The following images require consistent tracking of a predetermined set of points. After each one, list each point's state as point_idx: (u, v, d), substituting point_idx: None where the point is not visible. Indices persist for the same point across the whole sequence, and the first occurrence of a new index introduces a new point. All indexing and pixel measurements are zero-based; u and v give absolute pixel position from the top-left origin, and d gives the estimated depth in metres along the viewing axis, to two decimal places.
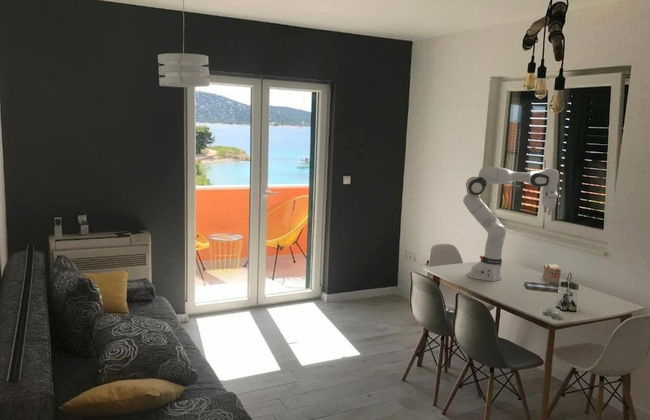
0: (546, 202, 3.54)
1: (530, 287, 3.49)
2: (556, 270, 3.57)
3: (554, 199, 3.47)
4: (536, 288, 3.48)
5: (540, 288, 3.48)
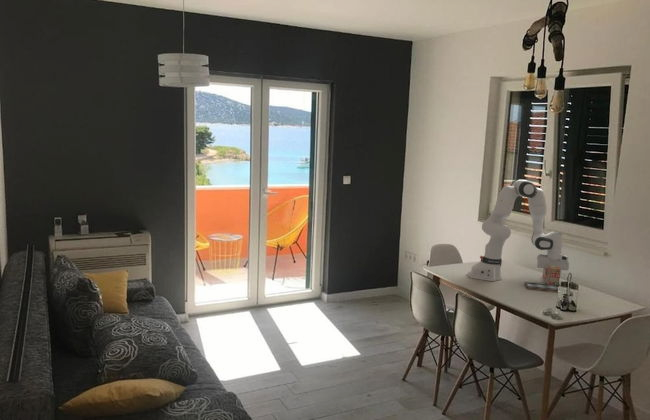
0: (556, 265, 3.65)
1: (530, 287, 3.49)
2: (556, 270, 3.57)
3: None
4: (536, 288, 3.48)
5: (540, 288, 3.48)
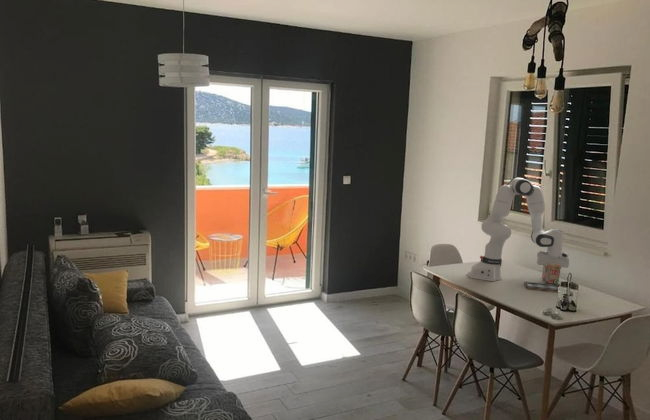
0: (556, 262, 3.64)
1: (530, 287, 3.49)
2: (556, 267, 3.57)
3: None
4: (536, 288, 3.48)
5: (540, 288, 3.48)
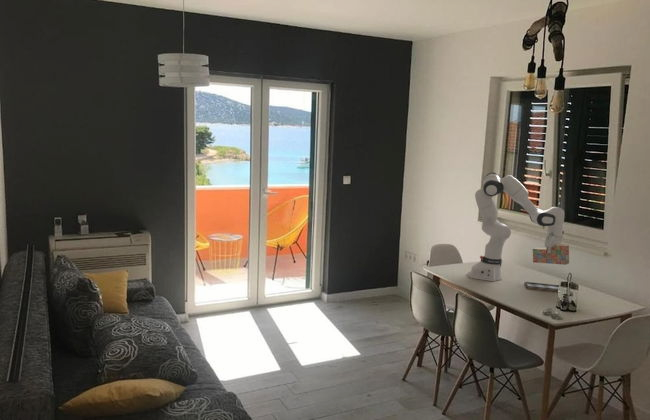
0: (557, 241, 3.54)
1: (530, 287, 3.49)
2: (567, 246, 3.48)
3: None
4: (536, 288, 3.48)
5: (540, 288, 3.48)
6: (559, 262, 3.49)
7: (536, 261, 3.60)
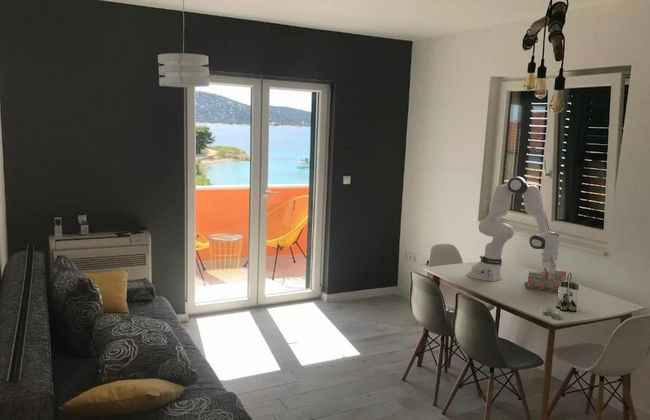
0: None
1: (530, 287, 3.49)
2: None
3: None
4: (536, 288, 3.48)
5: (540, 288, 3.48)
6: (557, 287, 3.48)
7: (533, 285, 3.51)
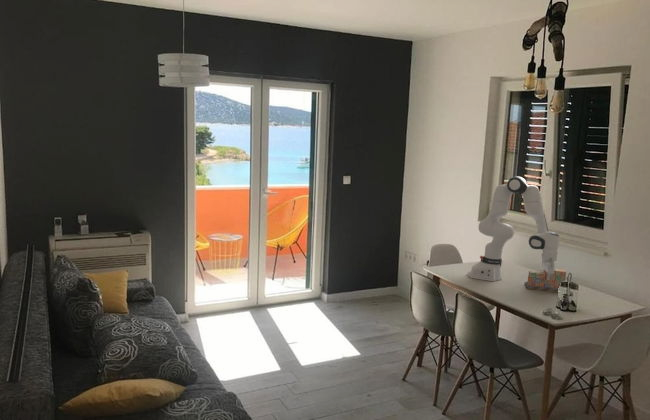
0: None
1: (530, 287, 3.49)
2: None
3: None
4: (536, 288, 3.48)
5: (540, 288, 3.48)
6: (557, 287, 3.48)
7: (533, 285, 3.50)
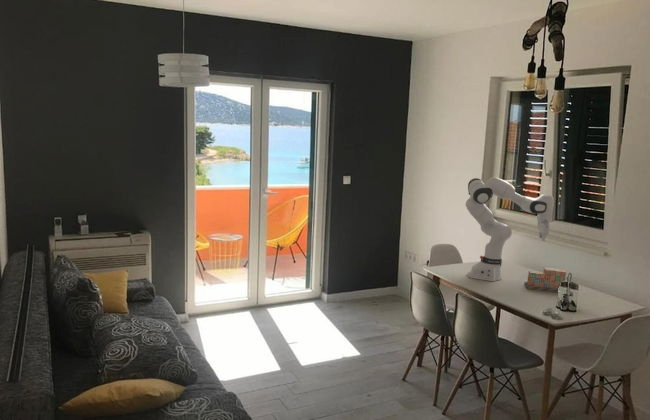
0: None
1: (530, 287, 3.49)
2: None
3: None
4: (536, 288, 3.48)
5: (540, 288, 3.48)
6: (557, 287, 3.47)
7: (532, 285, 3.50)
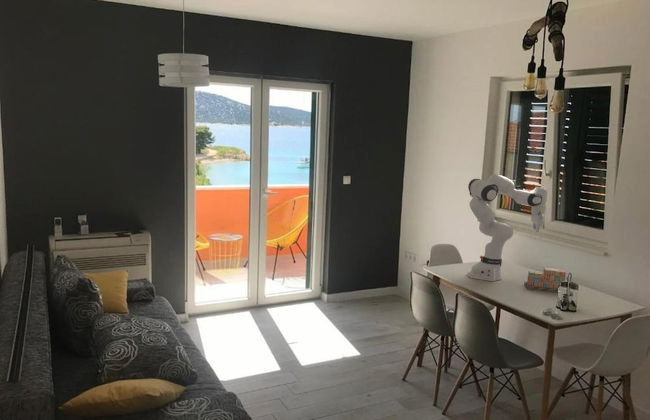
0: None
1: (530, 287, 3.49)
2: None
3: None
4: (536, 288, 3.48)
5: (540, 288, 3.48)
6: (556, 288, 3.47)
7: (532, 285, 3.50)
